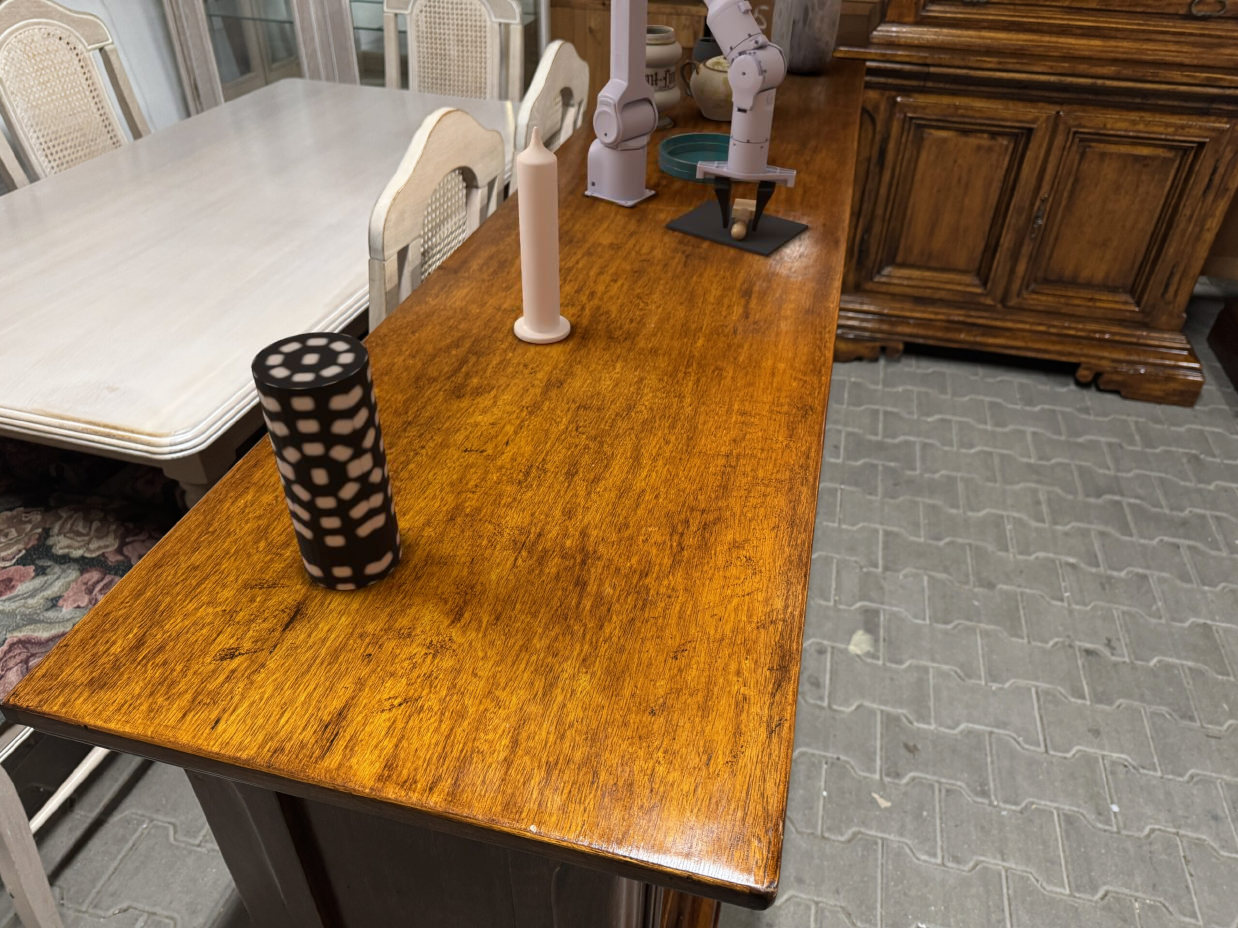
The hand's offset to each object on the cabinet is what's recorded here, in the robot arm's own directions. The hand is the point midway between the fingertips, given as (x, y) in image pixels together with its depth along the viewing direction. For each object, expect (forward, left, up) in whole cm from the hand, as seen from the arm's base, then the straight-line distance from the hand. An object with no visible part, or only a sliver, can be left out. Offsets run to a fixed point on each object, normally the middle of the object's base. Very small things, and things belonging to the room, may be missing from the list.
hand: (740, 227), depth 135 cm
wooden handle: (-2, +4, -1) cm, 4 cm away
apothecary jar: (-44, +41, -2) cm, 60 cm away
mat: (-2, +3, -2) cm, 4 cm away
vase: (-40, +103, -2) cm, 111 cm away
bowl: (-20, +25, -2) cm, 32 cm away
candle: (-5, -42, -2) cm, 42 cm away
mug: (-48, +71, -2) cm, 86 cm away
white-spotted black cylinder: (+8, -84, -2) cm, 84 cm away
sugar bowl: (-35, +56, -2) cm, 66 cm away
